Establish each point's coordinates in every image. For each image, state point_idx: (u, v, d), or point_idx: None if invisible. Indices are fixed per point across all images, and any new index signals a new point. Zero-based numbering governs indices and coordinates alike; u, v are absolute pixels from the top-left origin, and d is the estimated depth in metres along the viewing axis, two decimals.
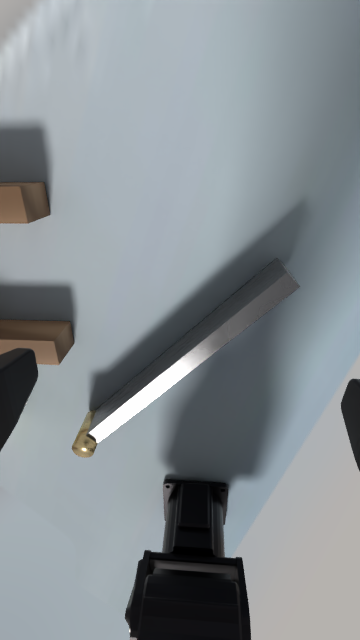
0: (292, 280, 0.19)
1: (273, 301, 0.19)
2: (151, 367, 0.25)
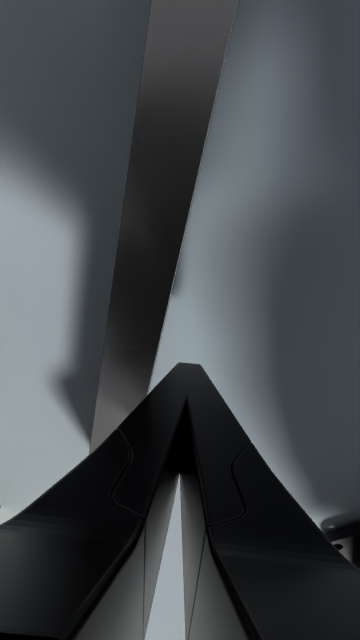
0: None
1: None
2: None
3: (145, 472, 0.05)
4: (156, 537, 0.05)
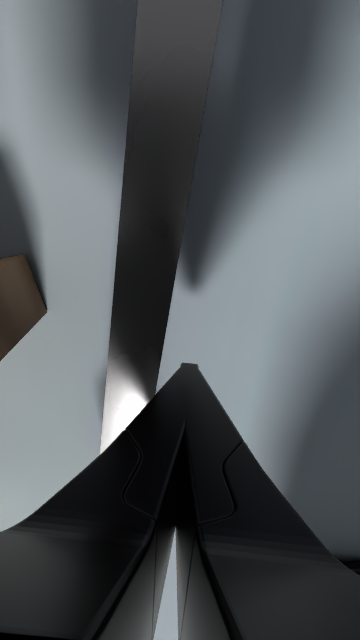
0: None
1: None
2: None
3: (155, 473, 0.05)
4: (165, 538, 0.05)
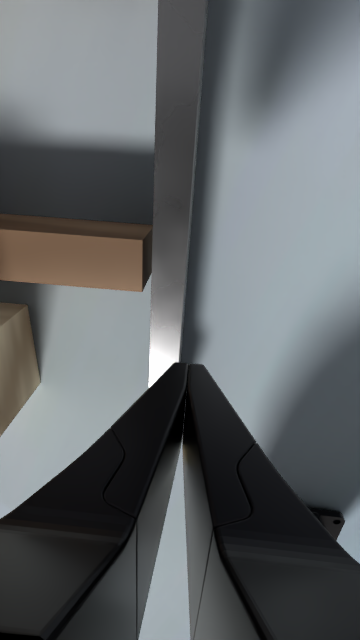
0: None
1: None
2: None
3: (138, 471, 0.05)
4: (150, 536, 0.05)
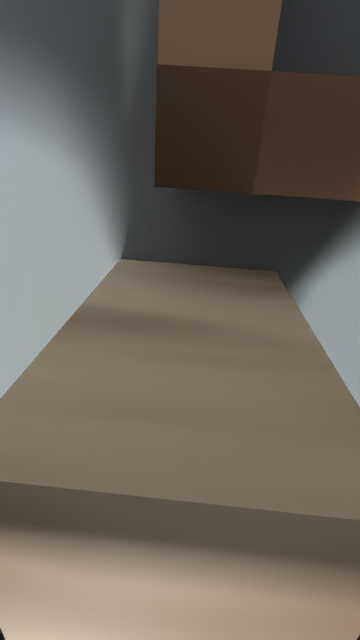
0: None
1: None
2: None
3: None
4: None
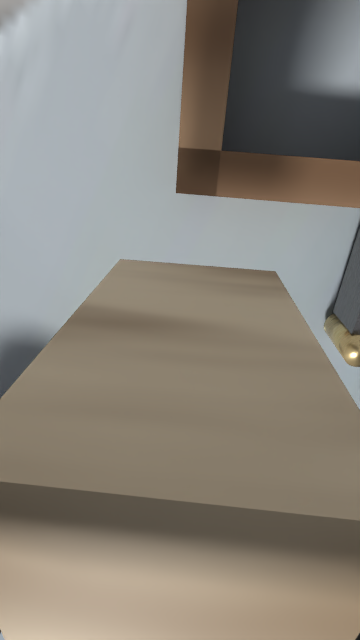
0: None
1: None
2: None
3: None
4: None
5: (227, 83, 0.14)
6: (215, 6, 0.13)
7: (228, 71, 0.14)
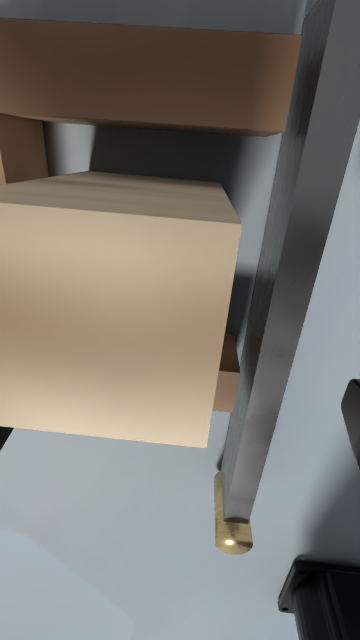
0: None
1: (359, 70, 0.08)
2: (242, 371, 0.14)
3: None
4: None
5: None
6: None
7: None
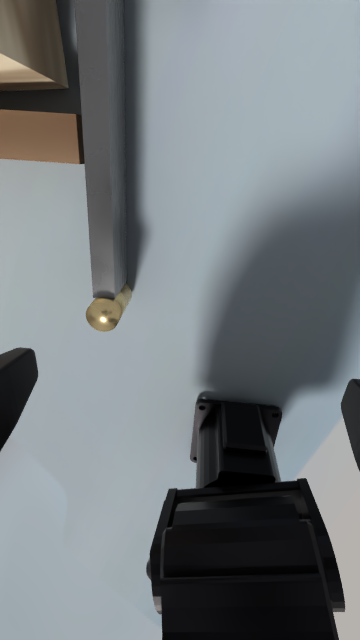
0: None
1: None
2: None
3: None
4: None
5: None
6: None
7: None
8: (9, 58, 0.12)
